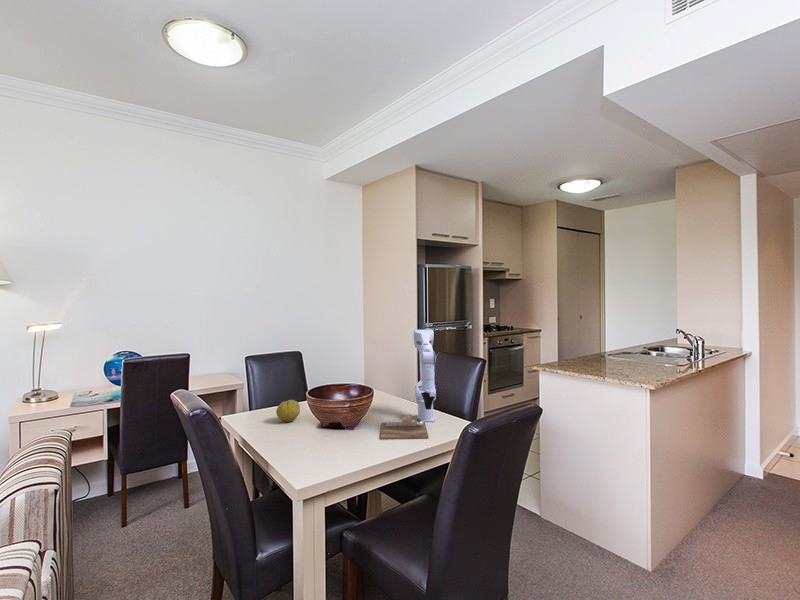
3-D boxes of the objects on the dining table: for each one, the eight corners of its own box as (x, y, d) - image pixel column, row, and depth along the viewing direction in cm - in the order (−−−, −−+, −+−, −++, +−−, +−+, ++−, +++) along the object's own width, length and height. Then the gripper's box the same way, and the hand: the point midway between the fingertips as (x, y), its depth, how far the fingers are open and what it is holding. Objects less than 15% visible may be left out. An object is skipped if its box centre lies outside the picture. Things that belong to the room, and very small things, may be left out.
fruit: (305, 420, 199) (305, 400, 199) (284, 426, 190) (283, 404, 190) (293, 416, 207) (293, 396, 207) (271, 421, 198) (271, 400, 198)
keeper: (420, 423, 190) (420, 414, 190) (421, 427, 183) (421, 419, 183) (402, 423, 190) (402, 415, 190) (402, 428, 183) (402, 419, 183)
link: (423, 423, 188) (423, 419, 188) (423, 426, 184) (423, 422, 184) (386, 424, 188) (385, 419, 188) (385, 427, 184) (385, 422, 184)
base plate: (381, 424, 191) (381, 422, 191) (424, 424, 192) (424, 421, 192) (380, 439, 171) (380, 437, 171) (428, 438, 172) (428, 436, 172)
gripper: (415, 375, 189) (415, 405, 189) (423, 382, 175) (423, 414, 175) (430, 375, 190) (430, 404, 190) (439, 381, 176) (439, 413, 176)
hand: (428, 409), depth 183 cm, fingers closed
